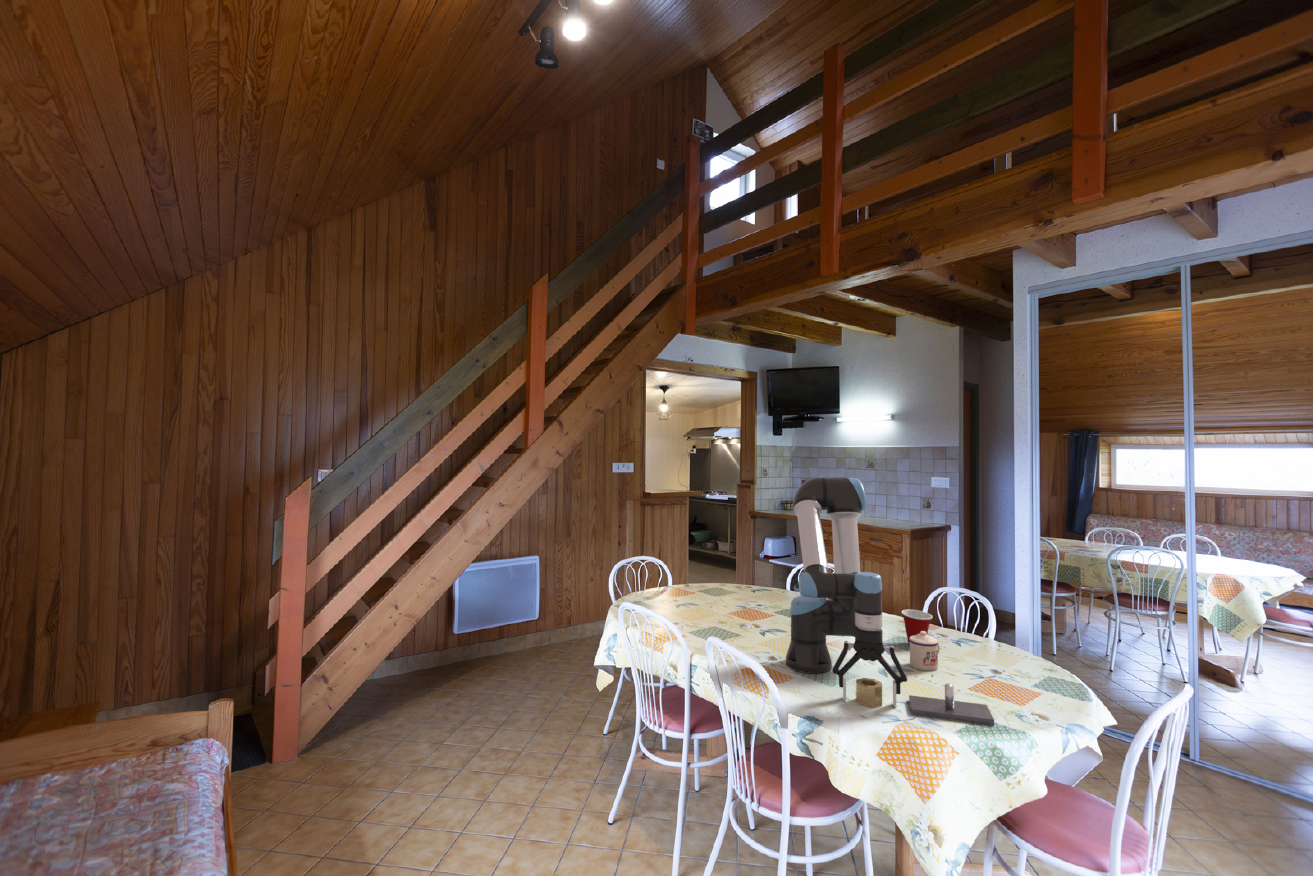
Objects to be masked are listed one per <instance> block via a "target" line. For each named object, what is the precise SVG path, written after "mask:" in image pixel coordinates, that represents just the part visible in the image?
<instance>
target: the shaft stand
mask: <svg viewBox="0 0 1313 876" xmlns="http://www.w3.org/2000/svg"><path fill="white" fill-rule="evenodd" d="M954 687H955V685H954V684H952V683H944V699H943V698H934V697H926V696H919V695H911V694H909V695H908V702H909V706H910V712H911V715H912V716H913V715H914V716H919V715H920V717H928V718H935V719H943V720H950V721H957V722H958V721H959V722H964V723H965V722H966V723H973V724H978V725H979V724H980V725H987V726H988V725H989V726H995V719H994V717H993V715H992V712H991V711H990V709H989V707H988V705H987V704H984V703H975V702H967V701H960V700H955V698H954V695H955V691H954V689H955V688H954Z"/></svg>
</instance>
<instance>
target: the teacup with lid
mask: <svg viewBox="0 0 1313 876" xmlns="http://www.w3.org/2000/svg"><path fill="white" fill-rule="evenodd" d="M909 641H910V645H909V665H910V666H911V667H913V669H917V670H921V671H927V672H928V671H929V672H930V671H935V670H937V669H938V668H939V659H938V658H939V653H940V644H939V640H938V639H936V638H935V637H932V636H931V635H929V634H927V633H926V632H925V631H921V632H920V634H917V635H914V636H911V637H910V638H909Z"/></svg>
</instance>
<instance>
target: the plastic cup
mask: <svg viewBox="0 0 1313 876" xmlns="http://www.w3.org/2000/svg"><path fill="white" fill-rule="evenodd" d="M901 613H902V617H903V620H904V628H905V634H906V639H907V644H908V645H909V646H910V641H909V638H910V637H911V636H914V635H917V634H920V632H921V631H925V632H926V633H927V635H929V634H928V632H929V628H930V623H931V620H932V619H934V618H933V615H932V614H930V613H929V612H925V611H921V610H918V609H903V610H901Z"/></svg>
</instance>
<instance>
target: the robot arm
mask: <svg viewBox="0 0 1313 876" xmlns="http://www.w3.org/2000/svg"><path fill="white" fill-rule="evenodd" d="M792 501H793V502H792V509H793V514H794V516H796V518H797V524H798V534H799V539H800V540H799V541H800V549H801V557H802V567H803V572H800V573H799V574H798V592H799V594H800V595H798V596H795V597H794V598H792V600H791V602H790V611H789V614H790V643H789V647H788V649H787V651H786V652H787V653H786V655H785V665H786V666H787V667H788V668H789V669H791V670H794V671H797V672H800V673H806V674H821V673H823V674H824V673H827V672H828V671H831V670H832V673H833V674H834V675H835V674H836V675H837V677H838V686H839V688H842V700H843V701H846V700H847V674H846V673H848V671H849V670H850V669H852V667H853V666H854V665H855V664H856V663H857V662H858V661H859V660H860V659H861V660H863V661H871V662H876V661H878V663H880V665H881V666H882V667H883V668H884V669H885V670H886V671H887V673H888V674H889V675H890V677H891V678H892V705H893V707H894V708H895V707H896V708H897V695H901V693H902V692H901V683H904V682H905V683H907V682H908V677H907V675H906V673H905V671H904V669H903V667H902V664H901V663H900V661H899V658H898V657H897V655H896V653H895V652H896V651H895V647H894V645H892V644H891V645H889V646H884V643H883V629H882V628H883V583H882V576H881V575H880V574H878V573H875V572H871V571H868V572H867V571H861V563H860V562H861V560H860V547H859V546H860V544H859V530H858V519H859V518H860V517H861V516H862V511H865V510H866V507H867V498H866V492H865V488H864V485H863V483H862V482H861V480H860V479H858V478H857V477H847V476H845V477H819V476H818V477H812V478H809V479H808V480H806V481H805V482H804V483H802V484H801V485H800V487H799V488H797V491H796V492H795V495H794V498H793V500H792ZM822 511H826V516H827V517H828V519H830V520H831V527H832V528H831V532H832V533H831V534H832V547H833V549H832V550H833V554H832V555H833V566H834V567H833V569H834V570H833V571H834V573H833V572H829V565H828V559H827V553H826V547H825V541H824V540H825V539H824V535H823V533H824V532H823V527H822V522H821V515H820V514H821V513H822ZM827 636H834V637H837V636H838V637H854V642H849V641H848V640H844V642H843V647H842V650H841V652H840V654H839V656H838V657H837V659H836V662H835V664H833V663H832V662H833V661H832V658H831V655H830V652H829V649H828V646H827ZM852 648H853V650H854V652H855V653H854V655H853V656H851V658H850V659H848V661H847V662H846V663H845V664H844V665H843V666H842V663H843V661H844V660H845V658H846V656H847V653H848V652H849V651H851V649H852ZM884 652H886V653H887V654H888V655H889V656H890V658H891V660H892V662H893V663H894V666H895V667H896V669H897V671H898V673H899V675H898V674H897V672H896V671H895V670H894V669H893V668H892V667H891V665H890V664H889V663H888V662H887V660H886V659H885V658H884V656H883V654H884ZM832 665H833V667H832ZM841 666H842V667H841ZM840 667H841V669H840Z"/></svg>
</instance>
